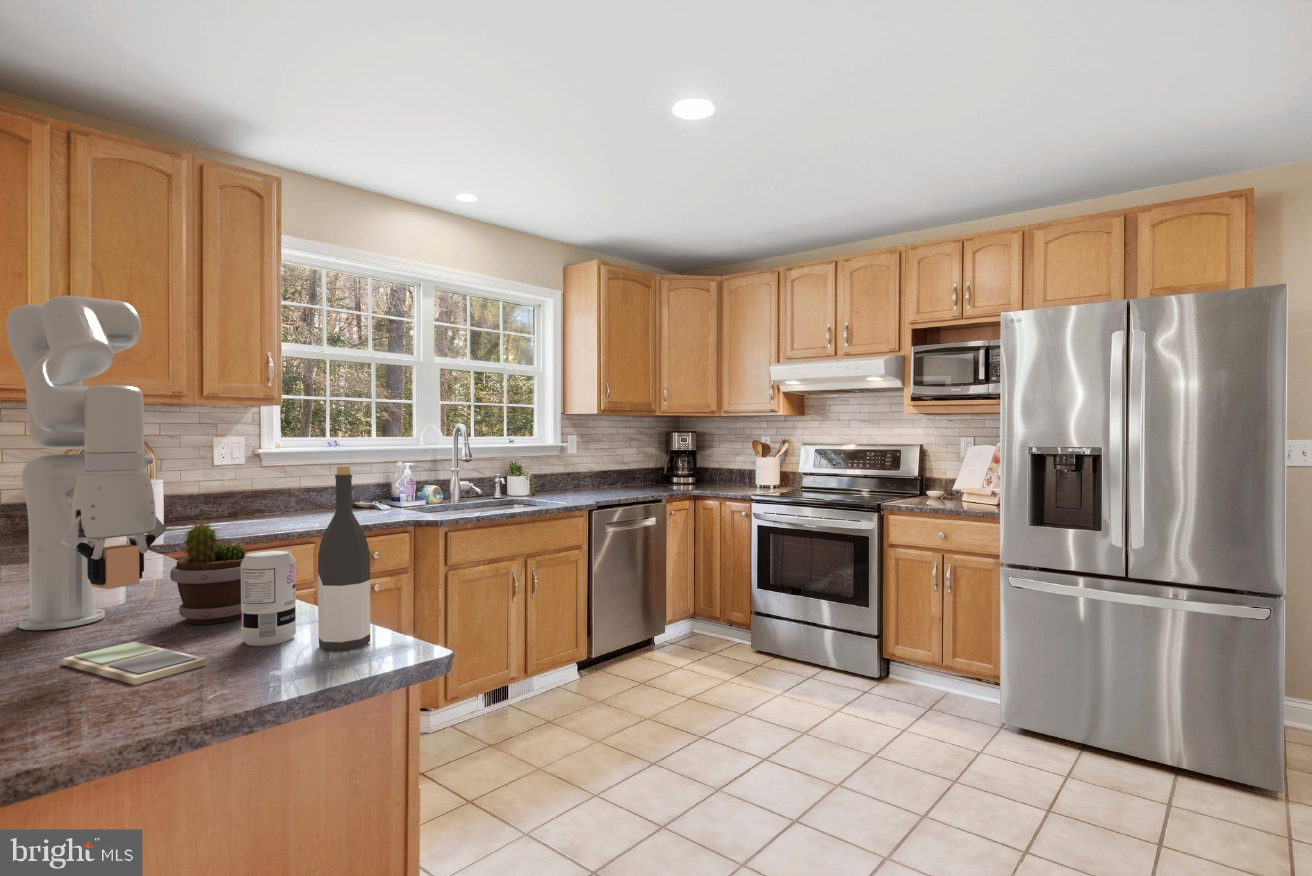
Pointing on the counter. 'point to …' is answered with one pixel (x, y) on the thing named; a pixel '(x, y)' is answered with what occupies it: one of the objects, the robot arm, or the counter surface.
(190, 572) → the flowerpot
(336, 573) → the wine bottle
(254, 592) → the supplement can
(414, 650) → the counter surface
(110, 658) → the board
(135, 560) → the block
